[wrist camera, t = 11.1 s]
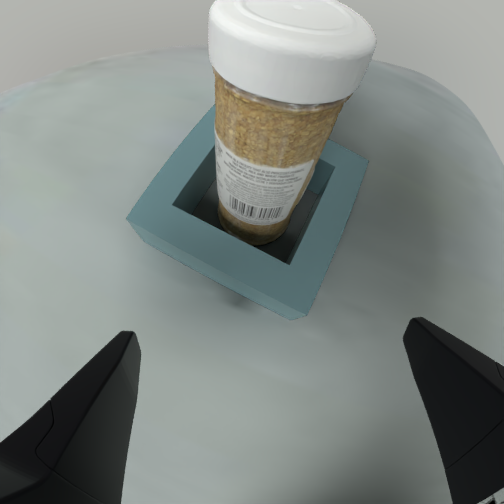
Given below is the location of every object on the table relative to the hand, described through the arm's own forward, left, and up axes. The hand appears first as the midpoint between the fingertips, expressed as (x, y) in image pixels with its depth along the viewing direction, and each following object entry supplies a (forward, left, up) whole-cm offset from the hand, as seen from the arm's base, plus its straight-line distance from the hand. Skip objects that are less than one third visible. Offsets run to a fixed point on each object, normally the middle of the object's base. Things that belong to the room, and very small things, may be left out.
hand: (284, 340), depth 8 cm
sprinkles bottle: (+7, +4, -8) cm, 11 cm away
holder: (+7, +4, -8) cm, 11 cm away
